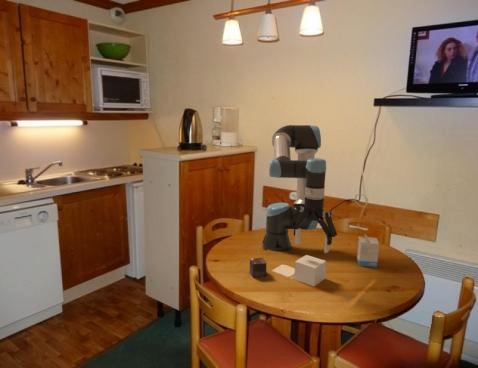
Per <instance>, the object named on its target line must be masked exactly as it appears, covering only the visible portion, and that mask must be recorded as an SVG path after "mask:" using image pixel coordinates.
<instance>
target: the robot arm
mask: <svg viewBox="0 0 478 368" xmlns="http://www.w3.org/2000/svg"><path fill="white" fill-rule="evenodd" d="M271 145H272V146H273V159H270V160H269V177H271V178H277V179H279V178H280V179H281V178H285V179H287V178H288V179H296V200H295V201H294V202H293V206H290V204H289V203H287V202H275V203H271V204H269V205H268V206H267V207H266V214H265V216H266V219H265V220H266V222H265V234H264V236H263V240H262V243H261V244H262V245H261V246H262V249H263V250H265V251H268V250H269V251H272V252H283V251H287V252H289V251H291V249H292V242H291V239H290V236H289V235H290V234H289V230H293V236H294V245H299V244H300V241H301V230H303V231H314V230H316V229H317V227H318V224H319V225H320V227H321V228H322V231H323V232H324V233H325V237H324V250H323V252H324V254H327V253H329V252H330V246H331V245H332V243H333V238H335V237H336V236H338V233H337V230H336V227H335V224H334V222H333V219H332V216H331V215H332V212H331V211H324V205H325V199H324V198H325V187H326V186H325V185H326V173H327V161H326V160H325V159H323V158H315V154H317V153H318V151H319V150H318V149H320V148H321V146H322V136H321V131H320V128H319V127H318V126H317V125H310V124H309V125H307V124H306V125H305V124H304V125H299V124H298V125H297V124H295V125H293V124H289V125H288V124H287V125H284V126H282V127H280V128H278V129H277V130H276V131H275V132H274V134H273V135H272V138H271ZM290 148H294V152H295V153H296V154H297V160H296V159H294V160H291V149H290Z"/></svg>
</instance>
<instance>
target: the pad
mask: <svg viewBox="0 0 478 368" xmlns="http://www.w3.org/2000/svg"><path fill="white" fill-rule="evenodd" d="M271 272H273V273H277V274H279V275H282V276H284V277H287V278H289V277H290V278H291V276H293V275H294V272H295V267H292V266H289V265H286V264H280V265H279V266H277V267H274V268H273V269H272V270H271Z"/></svg>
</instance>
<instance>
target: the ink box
mask: <svg viewBox="0 0 478 368" xmlns="http://www.w3.org/2000/svg"><path fill="white" fill-rule="evenodd" d="M379 249H380V242H379V240H378V238H377V237H373V236H372V237H371V236H370V237H369V236H368V235H366V234H365V233H364V236H358V240H357V252H356V260H357V264H358V266H359V267H371V268H378V263H379V253H380V252H379Z"/></svg>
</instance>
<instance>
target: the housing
mask: <svg viewBox="0 0 478 368" xmlns="http://www.w3.org/2000/svg"><path fill="white" fill-rule="evenodd" d="M326 266H327V260H324V259H321V258H318V257H315V256H311V255H310V254H309V255H308V254H305V255H304V256H302V257H300V258H298V259H297V260H296V261H294V268H295V272H294V274H293V275H294V278H293V280H295V281H298V282H300V283H303V284H306V285H309V286H312V287H316V286H317V285H318V284H320V283H321V282H322V281H324V280H325V278H326Z"/></svg>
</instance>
